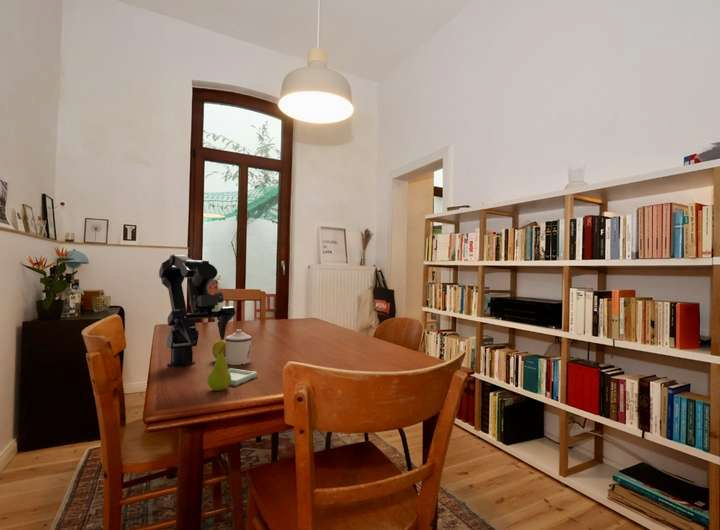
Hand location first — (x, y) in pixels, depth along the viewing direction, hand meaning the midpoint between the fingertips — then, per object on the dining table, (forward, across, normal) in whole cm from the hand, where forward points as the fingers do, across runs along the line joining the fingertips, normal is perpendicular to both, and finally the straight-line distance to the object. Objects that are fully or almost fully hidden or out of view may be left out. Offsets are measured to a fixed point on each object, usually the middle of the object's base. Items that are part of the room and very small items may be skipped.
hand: (207, 341), depth 110 cm
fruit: (+15, 0, -2) cm, 15 cm away
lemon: (-1, +12, +25) cm, 28 cm away
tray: (+11, +7, +4) cm, 14 cm away
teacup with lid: (+1, +17, +21) cm, 27 cm away
